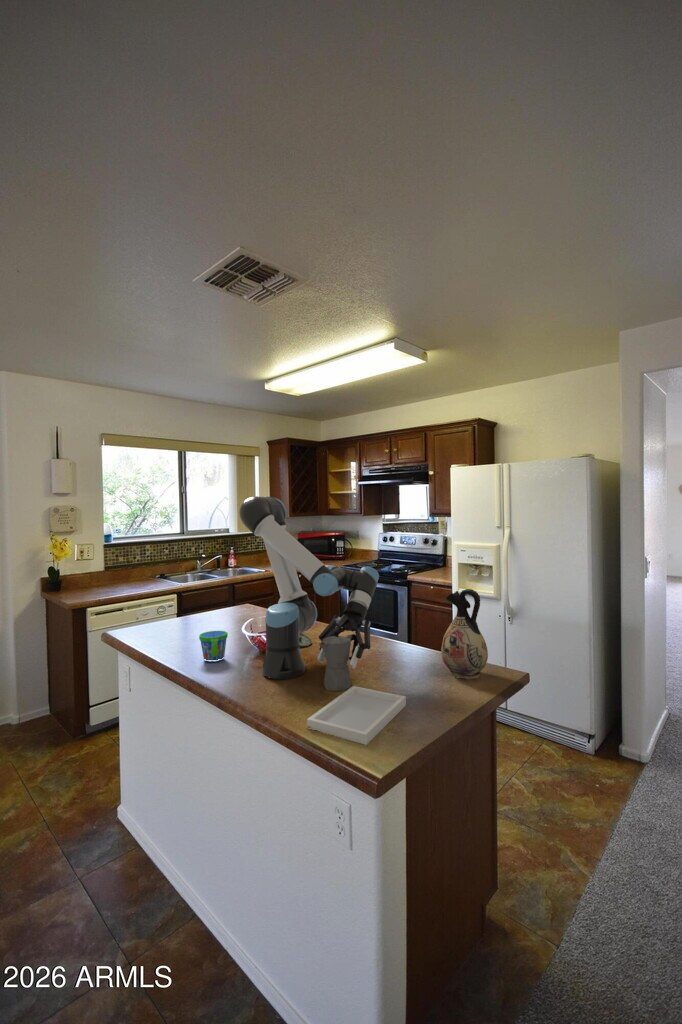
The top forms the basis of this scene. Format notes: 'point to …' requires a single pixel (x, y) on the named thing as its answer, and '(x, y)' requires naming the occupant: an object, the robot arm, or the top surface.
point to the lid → (304, 640)
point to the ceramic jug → (464, 639)
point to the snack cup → (213, 644)
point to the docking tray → (357, 714)
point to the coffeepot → (338, 661)
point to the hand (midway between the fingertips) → (335, 663)
